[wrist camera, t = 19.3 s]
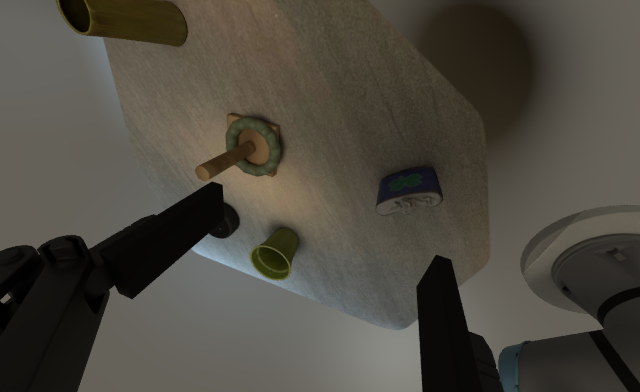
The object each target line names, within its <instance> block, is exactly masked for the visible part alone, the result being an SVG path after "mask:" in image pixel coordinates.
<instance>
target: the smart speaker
mask: <svg viewBox="0 0 640 392" xmlns="http://www.w3.org/2000/svg"><path fill="white" fill-rule="evenodd" d="M224 214H225V219H224V220H223V221H222V222H221V223H220V224H219V225H217V226H216V227H215V228H214V229H213V230H212V231H210V232H209V234H211V235H212V236H214V237H217V238H227V237H229V236H230V235H232V234H233V233H234V232H235V230H236V229H237V228H238V218H237V215H236V214H235V212H234V211H233V210H232V209H231V208H230V207H229V206H227V205H225V204H224Z"/></svg>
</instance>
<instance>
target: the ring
mask: <svg viewBox="0 0 640 392" xmlns="http://www.w3.org/2000/svg"><path fill="white" fill-rule="evenodd" d="M245 129H251V130H254V131H257V132H258V133H259V134H260V135H261V136H262V137H263V138H265V140H266V143H267V145H268V147H269V159H268V160H267V162H266V163H265V164H263V165H260V166H256V165H253V164H250V163H248V162H247V161H246V160H245V159H243V160H241V161H239V162H238V163H236V164H235V165H237V166H238V167H239V168H240V169H241V170H242V171H243V172H245V173H248V174H251V175H254V176H263V175H267V174H270V173H272V171H273V170H274V169H275V168H276V167H277V165H278V164H279V162H280V152H281V147H280V145H279V142H278V140H277V137H276V135H275V133H274V131H273V130H272V129H270V128H269V127H268V126H267V125H266V124H265V123H264V122H263V121H262V120H258V119H255V118H251V117H247V116H246V117H243V118H240V119H237V120H235V121H233V122H232V123H231V125H230V127H229V128H228V130H227V132H226V149H227V151H229V150H231V149H233V148H235V147H237V137H238V135H239V133H240V132H241V131H242V130H245Z"/></svg>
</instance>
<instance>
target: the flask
mask: <svg viewBox="0 0 640 392" xmlns="http://www.w3.org/2000/svg"><path fill="white" fill-rule="evenodd" d="M442 201H443V194H442V191H441V187H440V185H439V181H438V178H437V174H436V172H435V170H434V168H433V167H430V166H420V167H415V168H409V169H405V170H403V171H400V172H398V173H394V174H391V175H389V176H387V177H385V178H384V179H382V180H381V182H380V184H379V192H378V198H377V203H376V212H377V213H379V214H380V215H381V216H385V215H389V214H392V213H395V212H398V211H402V210H403V212H402V214H406V215H409V213H407V211H408V210H409V211H410V209H412V208H419V207H435V206H438V205H439V204H440V203H441V202H442Z"/></svg>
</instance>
